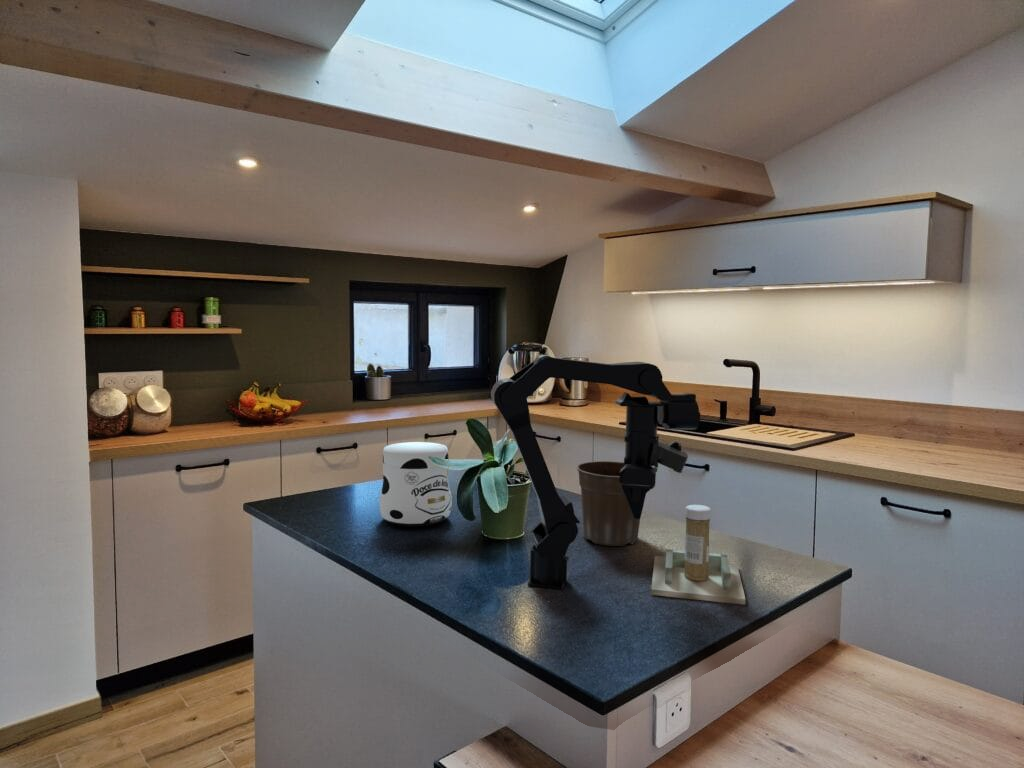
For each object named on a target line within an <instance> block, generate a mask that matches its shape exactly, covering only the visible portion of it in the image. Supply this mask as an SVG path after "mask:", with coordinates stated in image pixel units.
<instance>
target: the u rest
mask: <svg viewBox="0 0 1024 768" xmlns="http://www.w3.org/2000/svg"><path fill="white" fill-rule="evenodd" d="M739 570H740V569H739V566H738V563H736V562H735V563H734V562H729V559H728V554H722V553H721V554H720V553H710V552H709V561H708V575H709V577H708V579H706V580H704V581H695V580H690V579H688V578H686V577H685V576H684V572H685V550H676V549H668V548H667V549H666V553H665V556H661V555H654V562H653V571H652V579H651V589H650V595H652V596H660V597H661V596H662V597H669V598H670V597H671V598H676V599H677V598H678V599H679V598H680V599H689V600H697V601H698V600H699V601H705V602H706V601H707V602H718V603H724V604H725V603H727V604H734V605H743V606H744V605H746V596H745V591H744V587H743V584H742V583H743V582H742V579H741V574H740V571H739Z"/></svg>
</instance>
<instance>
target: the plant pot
mask: <svg viewBox="0 0 1024 768" xmlns="http://www.w3.org/2000/svg"><path fill="white" fill-rule="evenodd" d="M625 465H626V464H624V461H610V460H607V461H606V460H597V461H588V462H582V463H579V464H577V466H576V470H577V471H578V480H579V481H578V483H579V486H580V493H581V507H582V508H581V509H582V511H581V513H582V531H583V532H582V533H583V538H584V539H585V540H586V541H591V542H592V543H593V544H596V545H599V546H601V545H602V546H605V547H624V546H627V544H629V545H633V544H636V542H637V541H638V538H639V537H638V536H639V531H640V530H639V529H640V523H641V518H640V519H635V518H634V516H633V514H632V511H631V508H630V506H629V503H628V501H627V498H626V496H625V493H624V491H623V489H622V487H621V484H620V483H619V479H620V471H621V469H622V468H623V467H624V466H625Z"/></svg>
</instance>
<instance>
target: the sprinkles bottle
mask: <svg viewBox="0 0 1024 768" xmlns="http://www.w3.org/2000/svg"><path fill="white" fill-rule="evenodd" d="M711 515H712V510H711V508H710V507H709V506H706V505H703V504H690V505H689V504H688V505H687V506H686V507H685V521H686V522H685V534H684V535H685V537H684V540H685V541H684V551H685V572H684V576H685V577H686V578H688V579H690V580H695V581H704V580H706V579H708V577H709V575H708V561H709V553H710V521H711V518H712V516H711Z"/></svg>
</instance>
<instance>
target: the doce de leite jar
mask: <svg viewBox="0 0 1024 768" xmlns="http://www.w3.org/2000/svg"><path fill="white" fill-rule="evenodd" d="M430 455H431V456H435V457H439V458H443V459H448V460H449V449H448V446H447V445H445V444H442V443H437V442H431V441H430V442H428V441H427V442H426V441H410V442H409V441H408V442H407V441H406V442H399V443H398V442H397V443H392V444H388V445H386V446H384V447H383V453H382V487H381V491H380V495H379V498H378V499H379V500H378V501H379V502H378V505H379V506H378V507H379V513H380V515H381V518H382V519H383V520H384V521H385V522H387V523H389V524H392V525H396V526H400V527H411V528H413V527H424V526H432V525H436V524H438V523H439V524H440V523H442V522H443V521H445V520H447V518H449V516H450V514H451V512H452V507H453V506H452V505H453V497H452V493H451V488H450V485H449V468H448V469H447V468H443V467H440V466H437V465H435V464H434V463H433V462H432V461H431V460H430V459H429V458H428V456H430Z"/></svg>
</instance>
